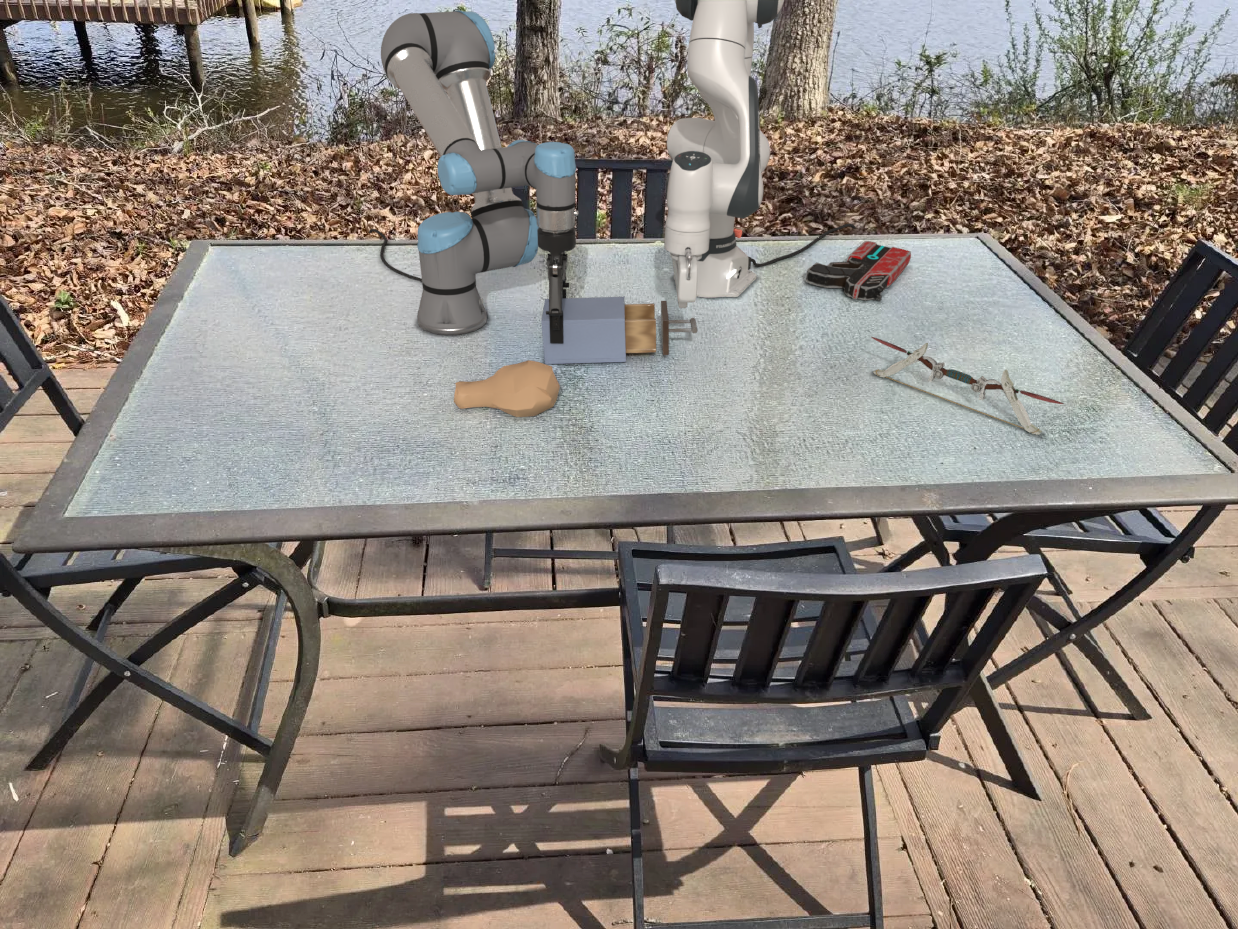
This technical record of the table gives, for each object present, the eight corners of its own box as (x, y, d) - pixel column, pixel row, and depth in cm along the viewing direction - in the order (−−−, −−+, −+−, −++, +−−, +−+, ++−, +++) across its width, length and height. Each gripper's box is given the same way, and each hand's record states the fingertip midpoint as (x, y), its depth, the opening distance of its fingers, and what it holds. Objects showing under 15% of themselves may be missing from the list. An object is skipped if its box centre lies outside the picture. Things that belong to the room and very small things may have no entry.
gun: (803, 270, 216) (880, 289, 208) (845, 233, 238) (916, 249, 230) (800, 287, 219) (876, 306, 211) (842, 249, 240) (912, 265, 233)
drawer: (694, 333, 189) (695, 299, 185) (698, 354, 180) (698, 319, 176) (594, 336, 189) (592, 302, 185) (593, 357, 181) (591, 322, 177)
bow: (1053, 437, 161) (1070, 389, 156) (1050, 441, 160) (1067, 393, 155) (866, 368, 183) (875, 324, 177) (862, 371, 182) (871, 326, 176)
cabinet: (625, 338, 190) (624, 296, 185) (625, 361, 181) (624, 318, 175) (548, 340, 190) (545, 298, 185) (544, 364, 181) (541, 321, 176)
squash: (561, 423, 162) (553, 385, 155) (455, 431, 163) (443, 394, 157) (564, 386, 169) (557, 349, 163) (463, 394, 171) (452, 358, 165)
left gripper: (572, 248, 161) (574, 355, 173) (578, 208, 181) (578, 307, 193) (532, 248, 161) (536, 355, 173) (541, 207, 181) (544, 306, 193)
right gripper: (707, 259, 163) (701, 327, 171) (699, 223, 181) (694, 286, 188) (673, 258, 163) (669, 326, 171) (668, 222, 180) (665, 286, 188)
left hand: (558, 330), depth 183 cm, fingers closed on cabinet, 11 cm apart
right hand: (682, 305), depth 180 cm, fingers closed
